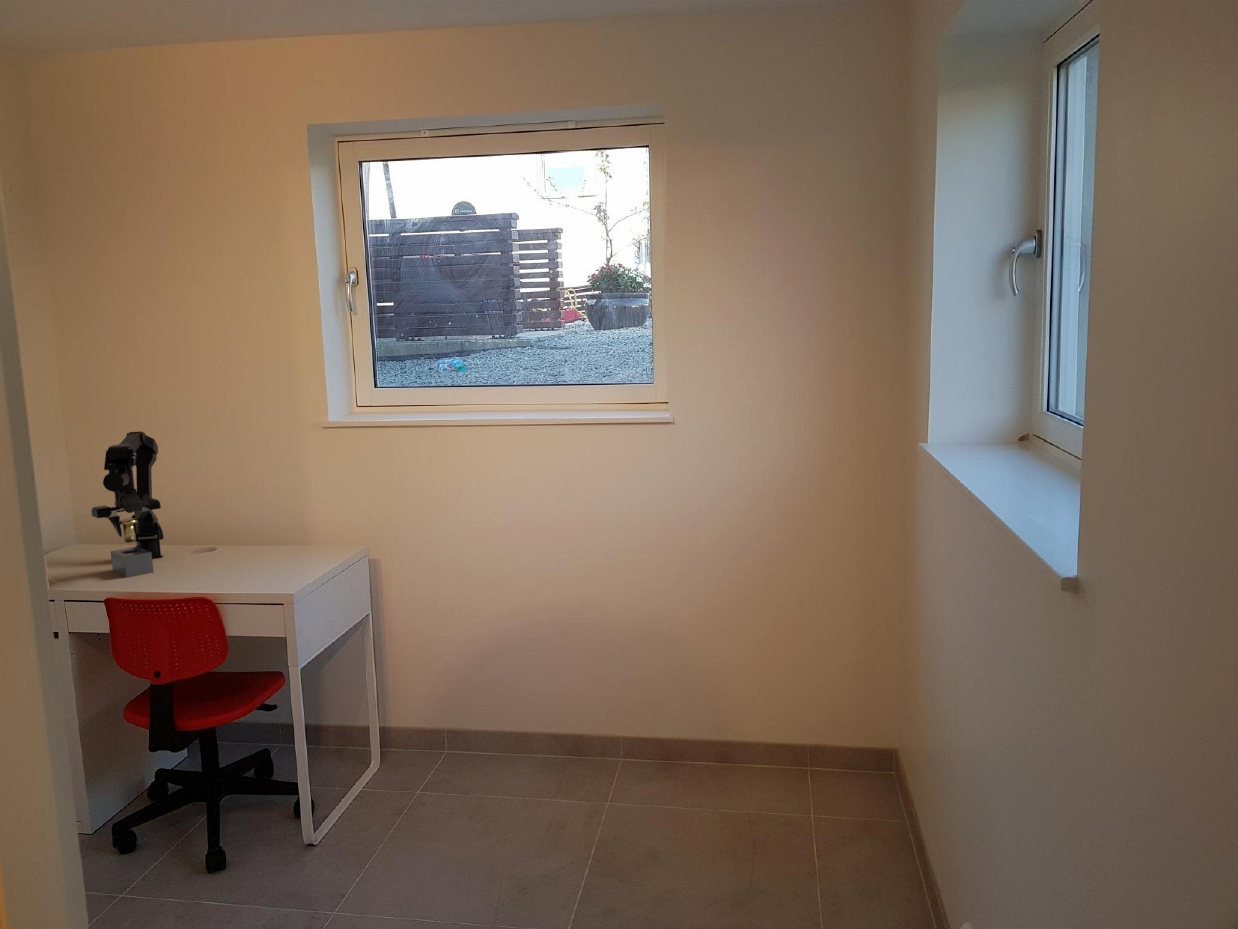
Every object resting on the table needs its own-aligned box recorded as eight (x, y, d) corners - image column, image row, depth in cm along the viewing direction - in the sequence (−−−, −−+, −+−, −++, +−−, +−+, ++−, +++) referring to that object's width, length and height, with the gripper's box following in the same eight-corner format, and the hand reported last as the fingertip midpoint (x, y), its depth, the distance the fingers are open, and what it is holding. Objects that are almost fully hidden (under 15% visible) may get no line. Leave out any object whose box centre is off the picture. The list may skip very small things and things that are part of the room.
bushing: (136, 538, 314) (133, 517, 313) (142, 541, 310) (140, 519, 309) (117, 541, 310) (115, 520, 309) (124, 544, 306) (121, 522, 305)
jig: (139, 566, 318) (137, 546, 317) (153, 572, 310) (151, 552, 309) (112, 571, 312) (110, 551, 312) (126, 577, 304) (124, 557, 303)
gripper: (101, 493, 295) (106, 544, 297) (165, 484, 308) (170, 533, 310) (88, 489, 303) (94, 539, 305) (151, 480, 316) (156, 528, 318)
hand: (129, 535), depth 309 cm, fingers closed on bushing, 5 cm apart
